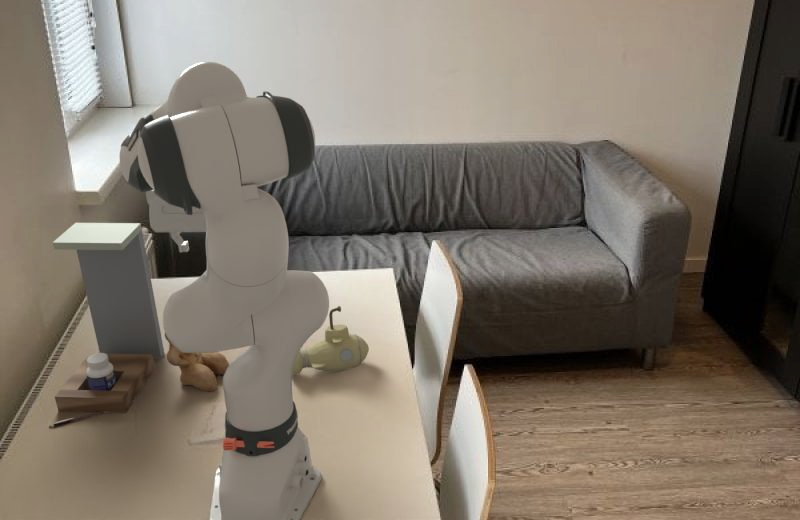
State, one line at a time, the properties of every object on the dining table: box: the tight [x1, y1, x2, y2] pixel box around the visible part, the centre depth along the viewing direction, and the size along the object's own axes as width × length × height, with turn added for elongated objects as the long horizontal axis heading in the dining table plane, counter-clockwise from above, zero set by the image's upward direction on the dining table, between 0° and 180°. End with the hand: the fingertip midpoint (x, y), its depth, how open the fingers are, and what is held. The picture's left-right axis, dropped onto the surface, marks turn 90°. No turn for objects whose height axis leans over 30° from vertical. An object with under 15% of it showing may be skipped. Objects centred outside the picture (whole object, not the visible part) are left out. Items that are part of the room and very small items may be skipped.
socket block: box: [54, 352, 155, 414], centre depth 161 cm, size 16×14×4 cm
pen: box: [48, 411, 107, 428], centre depth 153 cm, size 11×1×1 cm, turn 117°
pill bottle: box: [86, 352, 117, 391], centre depth 159 cm, size 5×5×9 cm
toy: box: [292, 305, 370, 376], centre depth 164 cm, size 9×17×15 cm, turn 106°
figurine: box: [164, 332, 230, 392], centre depth 162 cm, size 11×9×15 cm
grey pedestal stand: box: [52, 222, 165, 359], centre depth 163 cm, size 10×14×32 cm
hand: (208, 251), depth 151 cm, fingers open, 8 cm apart
